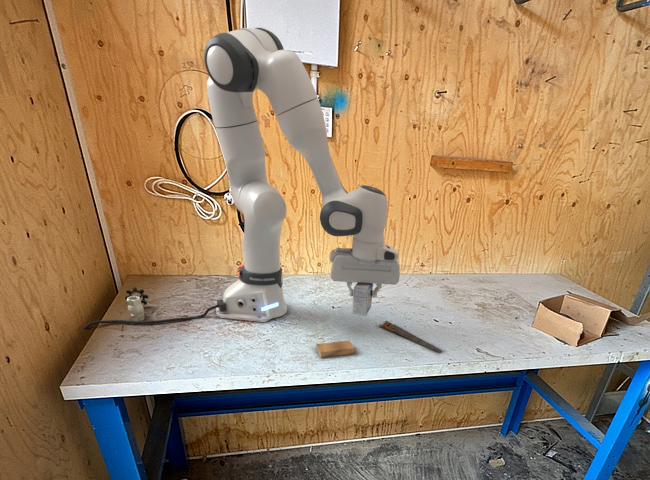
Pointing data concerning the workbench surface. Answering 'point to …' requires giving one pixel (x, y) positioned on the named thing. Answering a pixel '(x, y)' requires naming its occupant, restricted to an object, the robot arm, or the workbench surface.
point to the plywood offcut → (335, 349)
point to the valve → (136, 304)
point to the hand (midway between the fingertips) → (363, 296)
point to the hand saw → (407, 335)
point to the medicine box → (362, 298)
